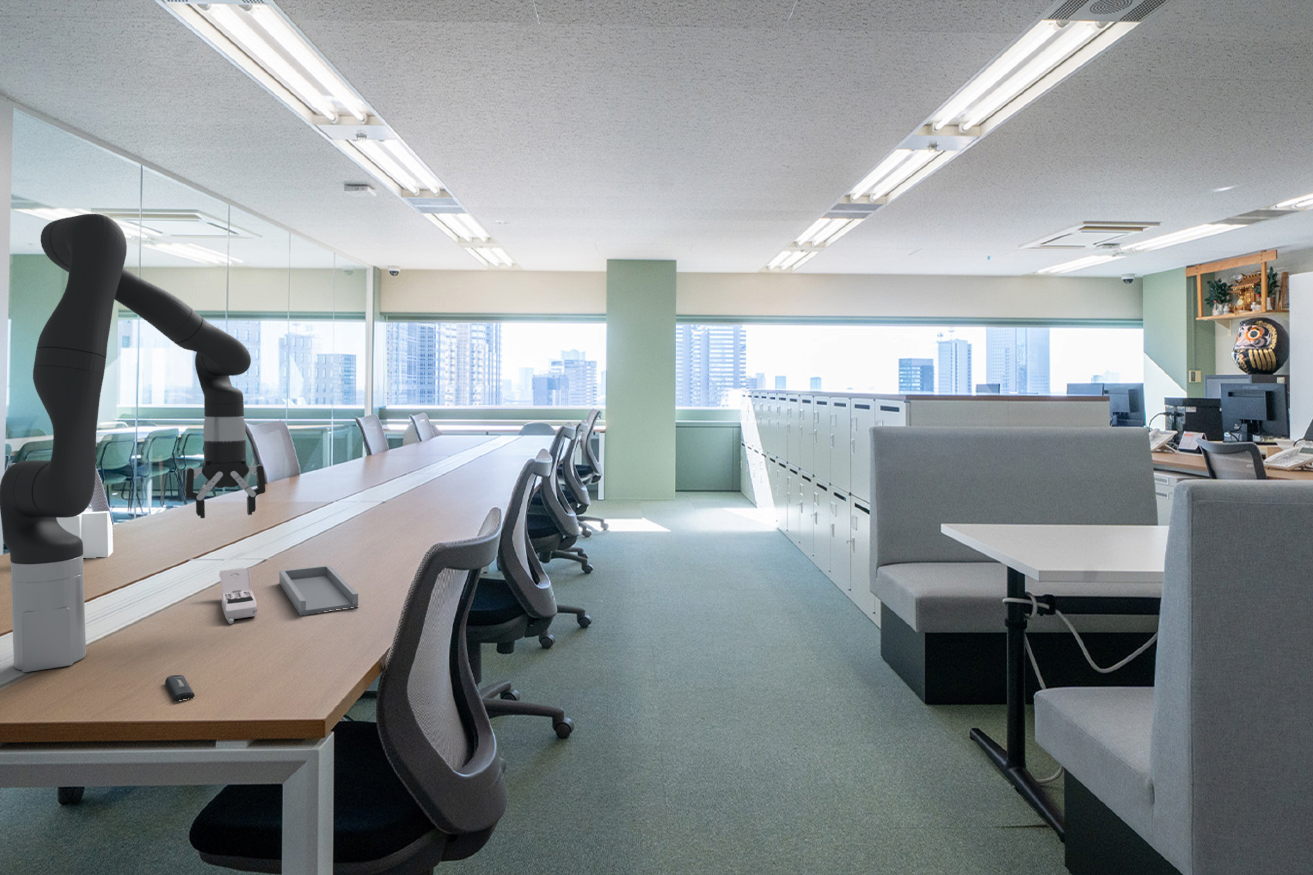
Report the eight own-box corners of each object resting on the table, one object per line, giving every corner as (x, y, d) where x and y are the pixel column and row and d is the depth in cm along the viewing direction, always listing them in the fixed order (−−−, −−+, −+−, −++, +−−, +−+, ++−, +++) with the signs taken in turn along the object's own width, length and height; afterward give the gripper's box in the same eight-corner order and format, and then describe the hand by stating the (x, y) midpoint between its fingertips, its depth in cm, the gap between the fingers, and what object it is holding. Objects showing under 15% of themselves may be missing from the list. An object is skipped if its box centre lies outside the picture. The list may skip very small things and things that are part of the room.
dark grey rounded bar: (195, 701, 108) (195, 690, 108) (174, 705, 107) (174, 695, 106) (184, 681, 115) (184, 671, 115) (164, 685, 114) (164, 675, 114)
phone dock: (358, 607, 155) (358, 593, 155) (300, 615, 148) (300, 601, 148) (329, 577, 179) (329, 565, 179) (279, 583, 173) (279, 570, 173)
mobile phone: (249, 566, 166) (259, 591, 145) (250, 592, 166) (260, 621, 145) (218, 570, 162) (223, 596, 141) (219, 596, 163) (224, 626, 142)
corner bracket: (54, 563, 189) (53, 517, 188) (64, 555, 199) (63, 510, 198) (106, 559, 194) (104, 514, 193) (113, 551, 204) (112, 508, 203)
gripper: (185, 440, 145) (187, 522, 146) (266, 438, 153) (267, 515, 154) (182, 438, 151) (184, 516, 152) (260, 436, 160) (262, 510, 161)
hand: (226, 516), depth 153 cm, fingers open, 8 cm apart
